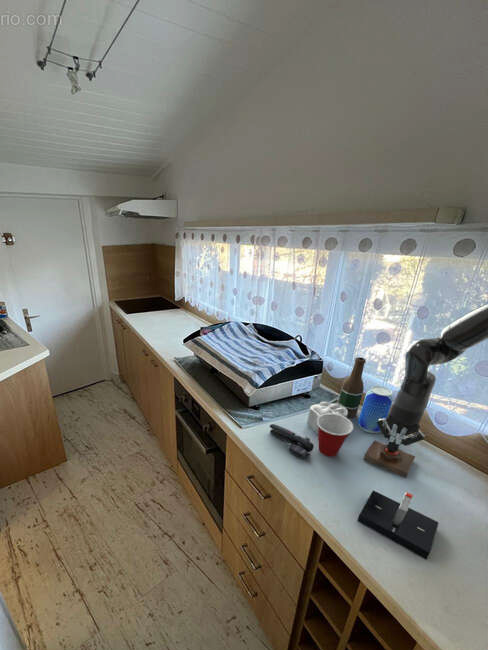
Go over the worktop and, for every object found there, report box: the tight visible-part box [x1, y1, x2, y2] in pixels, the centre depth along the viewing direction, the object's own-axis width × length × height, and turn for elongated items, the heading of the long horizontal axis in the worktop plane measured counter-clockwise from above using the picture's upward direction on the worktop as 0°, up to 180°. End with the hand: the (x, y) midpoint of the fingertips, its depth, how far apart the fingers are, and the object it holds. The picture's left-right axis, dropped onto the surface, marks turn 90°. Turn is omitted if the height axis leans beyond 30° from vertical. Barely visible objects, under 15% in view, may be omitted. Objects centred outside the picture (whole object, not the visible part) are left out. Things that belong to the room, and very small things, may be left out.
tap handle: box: [392, 492, 414, 528], centre depth 75 cm, size 6×2×6 cm, turn 136°
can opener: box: [269, 423, 315, 459], centre depth 105 cm, size 18×7×6 cm, turn 32°
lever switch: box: [356, 489, 440, 560], centre depth 77 cm, size 15×11×3 cm
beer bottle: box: [337, 356, 367, 419], centre depth 117 cm, size 8×8×24 cm
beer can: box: [357, 385, 394, 434], centre depth 111 cm, size 8×8×16 cm
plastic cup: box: [317, 413, 354, 458], centre depth 100 cm, size 11×11×12 cm
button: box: [385, 447, 398, 456], centre depth 97 cm, size 4×4×2 cm
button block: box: [362, 440, 416, 479], centre depth 98 cm, size 12×10×4 cm
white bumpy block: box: [306, 401, 348, 435], centre depth 113 cm, size 10×13×9 cm
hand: (391, 450), depth 97 cm, fingers closed
